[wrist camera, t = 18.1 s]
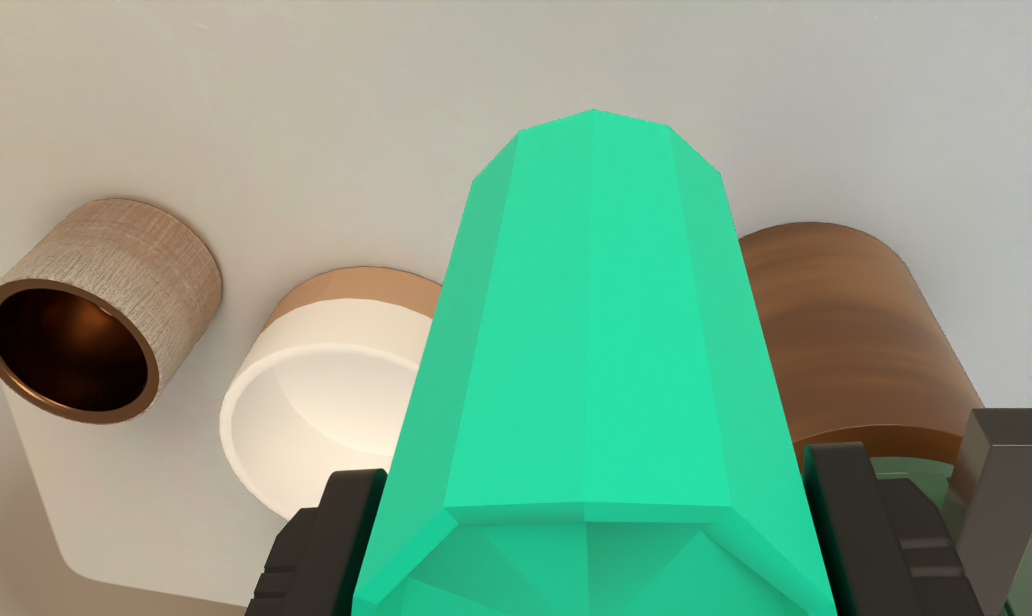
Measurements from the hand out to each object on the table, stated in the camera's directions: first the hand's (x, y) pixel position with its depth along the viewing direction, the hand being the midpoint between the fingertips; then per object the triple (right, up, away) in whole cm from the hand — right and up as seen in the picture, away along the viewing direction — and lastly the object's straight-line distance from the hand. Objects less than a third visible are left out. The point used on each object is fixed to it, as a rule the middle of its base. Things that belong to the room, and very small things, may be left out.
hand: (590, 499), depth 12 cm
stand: (+17, +2, +41) cm, 44 cm away
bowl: (-10, -1, +47) cm, 48 cm away
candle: (+1, +4, +6) cm, 8 cm away
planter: (-26, +6, +43) cm, 51 cm away
